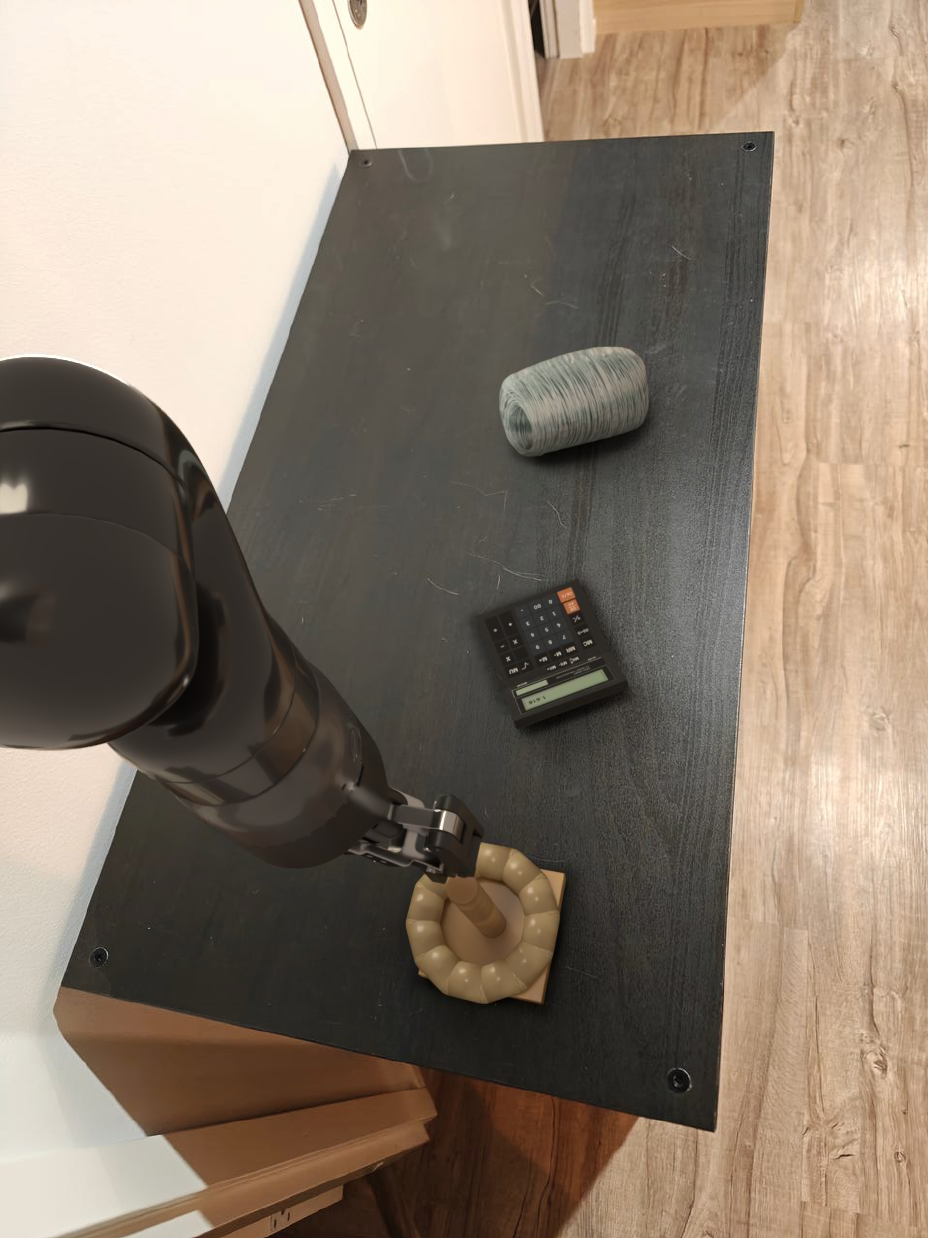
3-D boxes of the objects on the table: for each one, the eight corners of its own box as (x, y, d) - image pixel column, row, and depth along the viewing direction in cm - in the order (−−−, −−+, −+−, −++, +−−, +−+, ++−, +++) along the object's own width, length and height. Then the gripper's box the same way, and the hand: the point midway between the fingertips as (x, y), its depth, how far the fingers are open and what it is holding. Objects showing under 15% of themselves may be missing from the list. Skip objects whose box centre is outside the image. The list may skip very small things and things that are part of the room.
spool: (502, 475, 84) (508, 365, 79) (491, 434, 92) (496, 331, 87) (652, 474, 85) (669, 366, 80) (628, 433, 93) (642, 332, 88)
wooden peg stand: (422, 977, 69) (373, 947, 57) (450, 855, 73) (410, 804, 61) (543, 1005, 66) (518, 980, 55) (566, 878, 70) (547, 829, 59)
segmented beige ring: (395, 983, 68) (386, 979, 65) (432, 836, 72) (425, 828, 70) (543, 1020, 65) (539, 1016, 63) (572, 864, 69) (569, 856, 67)
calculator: (578, 583, 82) (576, 565, 79) (630, 699, 76) (629, 684, 73) (476, 621, 82) (470, 604, 79) (520, 739, 76) (515, 726, 73)
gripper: (93, 812, 40) (240, 892, 54) (411, 877, 36) (479, 945, 50) (157, 654, 43) (280, 768, 57) (455, 698, 40) (508, 809, 54)
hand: (373, 851), depth 54 cm, fingers open, 8 cm apart
